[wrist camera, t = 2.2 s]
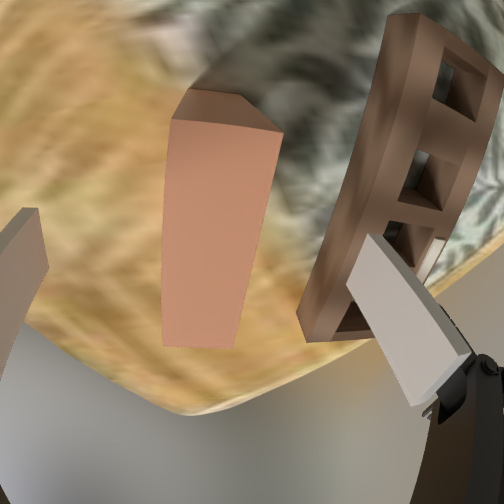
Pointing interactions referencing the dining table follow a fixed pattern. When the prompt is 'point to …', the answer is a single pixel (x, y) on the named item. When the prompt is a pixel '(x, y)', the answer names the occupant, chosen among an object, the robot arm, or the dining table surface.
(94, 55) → the dining table surface
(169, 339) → the pink u-shaped block
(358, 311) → the brown compartment rack
